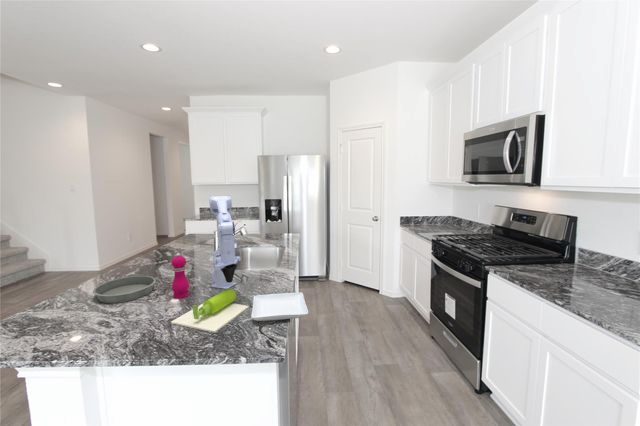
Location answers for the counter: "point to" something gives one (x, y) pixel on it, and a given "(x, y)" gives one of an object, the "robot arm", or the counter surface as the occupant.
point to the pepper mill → (179, 277)
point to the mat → (211, 318)
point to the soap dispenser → (215, 303)
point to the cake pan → (124, 289)
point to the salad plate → (279, 306)
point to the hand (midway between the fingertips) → (229, 281)
